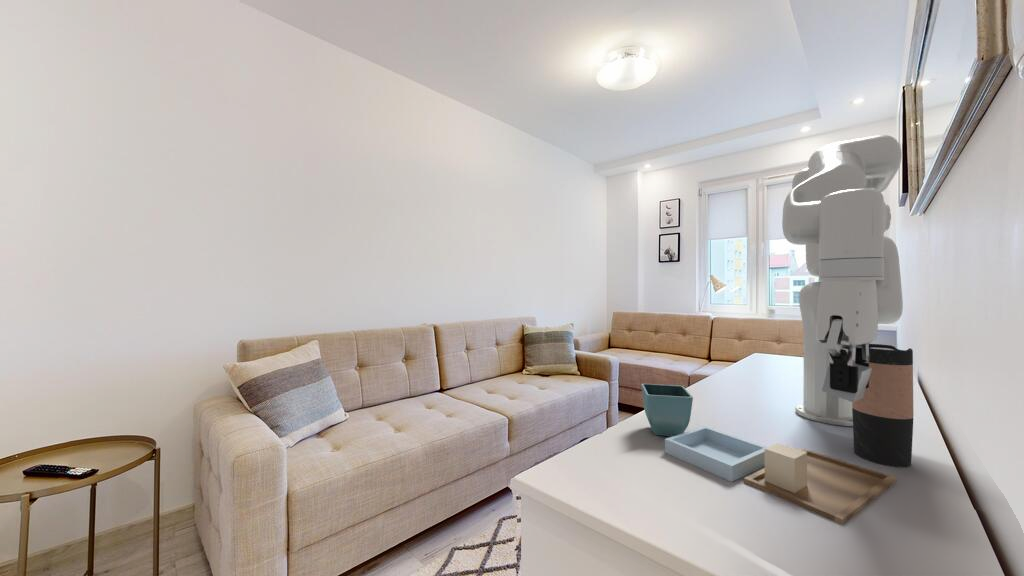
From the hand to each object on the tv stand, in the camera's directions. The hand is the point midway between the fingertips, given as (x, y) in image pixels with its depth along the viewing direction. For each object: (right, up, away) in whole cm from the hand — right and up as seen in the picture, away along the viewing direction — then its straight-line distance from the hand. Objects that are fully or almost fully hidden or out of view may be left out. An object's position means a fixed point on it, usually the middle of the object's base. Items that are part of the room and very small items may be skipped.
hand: (849, 387), depth 59 cm
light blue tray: (-17, -15, +7) cm, 24 cm away
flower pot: (-20, -15, +20) cm, 32 cm away
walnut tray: (-5, -15, -1) cm, 16 cm away
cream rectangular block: (-11, -14, -1) cm, 18 cm away
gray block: (0, -1, +1) cm, 2 cm away
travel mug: (+12, -15, +7) cm, 20 cm away
